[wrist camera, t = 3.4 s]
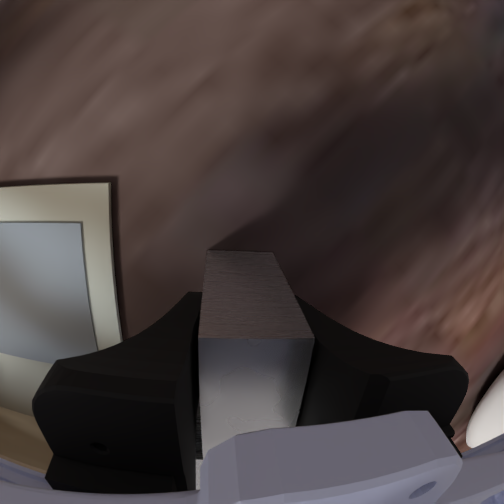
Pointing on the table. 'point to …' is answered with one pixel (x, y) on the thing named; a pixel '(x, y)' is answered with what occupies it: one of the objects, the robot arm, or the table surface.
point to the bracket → (248, 349)
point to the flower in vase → (487, 415)
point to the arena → (50, 298)
